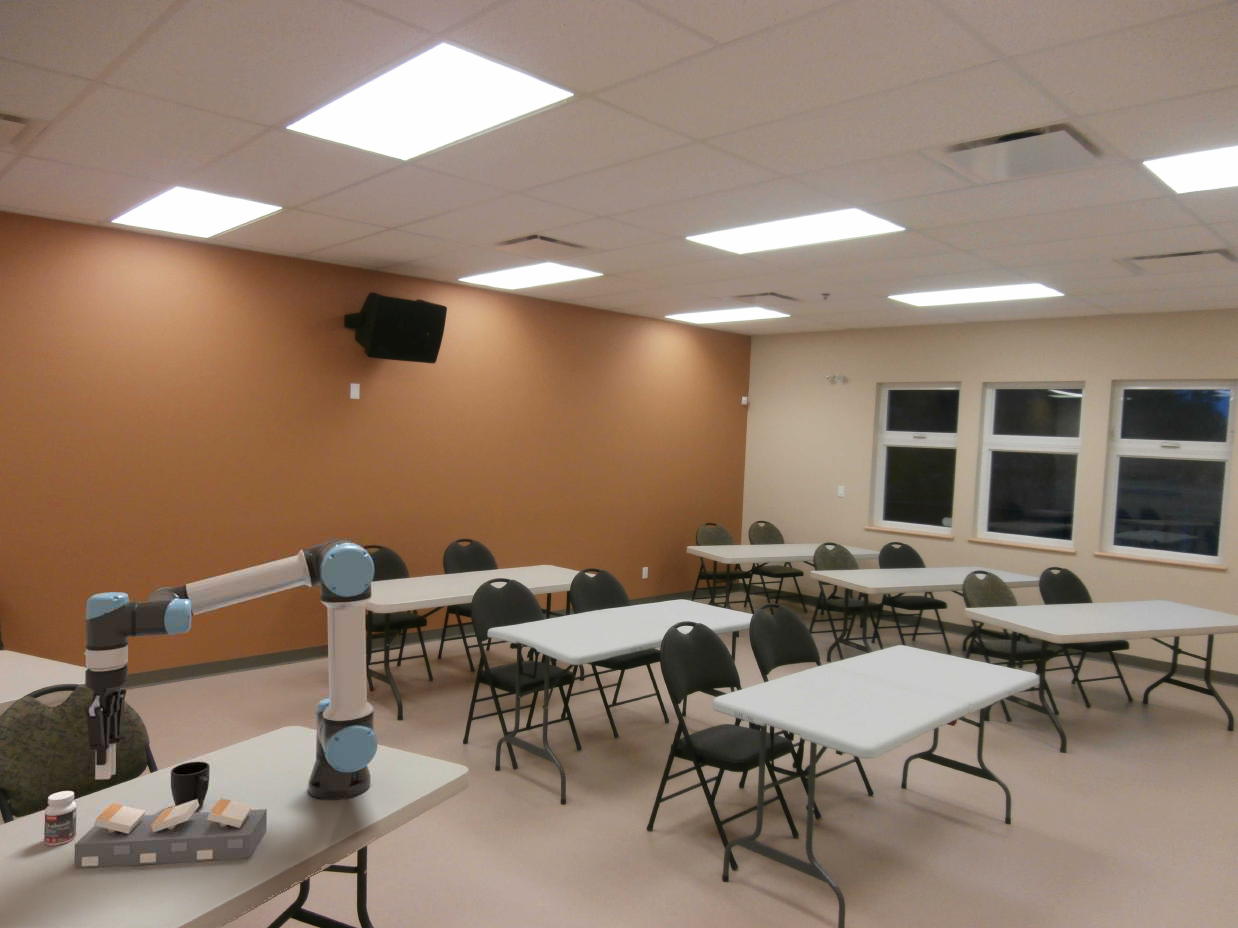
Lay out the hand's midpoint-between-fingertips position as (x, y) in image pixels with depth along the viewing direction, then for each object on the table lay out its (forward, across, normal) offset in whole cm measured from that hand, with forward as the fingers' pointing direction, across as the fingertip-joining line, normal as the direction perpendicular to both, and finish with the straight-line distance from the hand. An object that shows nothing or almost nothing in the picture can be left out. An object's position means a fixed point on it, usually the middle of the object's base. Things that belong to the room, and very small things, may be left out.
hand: (105, 776), depth 167 cm
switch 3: (+11, 0, +25) cm, 27 cm away
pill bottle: (+17, -7, -12) cm, 22 cm away
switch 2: (+11, 0, +14) cm, 18 cm away
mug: (+17, -19, +11) cm, 28 cm away
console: (+16, 0, +14) cm, 22 cm away
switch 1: (+11, 0, +3) cm, 11 cm away
